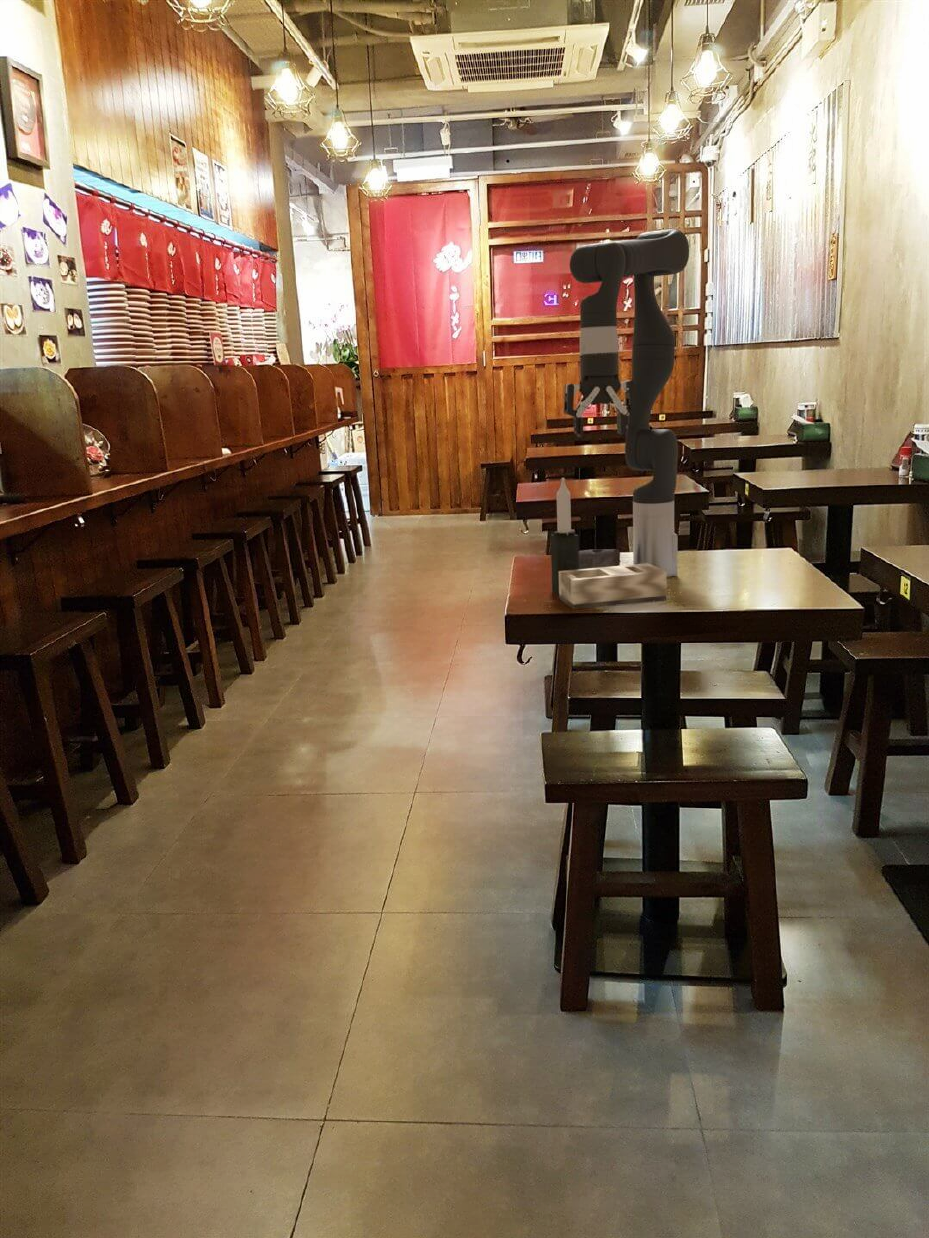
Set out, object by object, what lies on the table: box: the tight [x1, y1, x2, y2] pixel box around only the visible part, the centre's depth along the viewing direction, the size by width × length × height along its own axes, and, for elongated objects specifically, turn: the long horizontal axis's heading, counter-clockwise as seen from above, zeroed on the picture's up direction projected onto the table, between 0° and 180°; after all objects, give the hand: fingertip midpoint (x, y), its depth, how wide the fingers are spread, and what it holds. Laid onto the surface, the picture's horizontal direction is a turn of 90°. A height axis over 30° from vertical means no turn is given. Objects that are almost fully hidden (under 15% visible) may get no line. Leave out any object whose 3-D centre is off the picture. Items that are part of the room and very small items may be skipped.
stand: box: [558, 563, 668, 610], centre depth 201 cm, size 20×10×6 cm, turn 101°
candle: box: [550, 477, 580, 597], centre depth 207 cm, size 5×5×25 cm
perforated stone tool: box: [579, 548, 622, 569], centre depth 223 cm, size 15×5×7 cm, turn 74°
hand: (600, 435), depth 193 cm, fingers open, 8 cm apart
